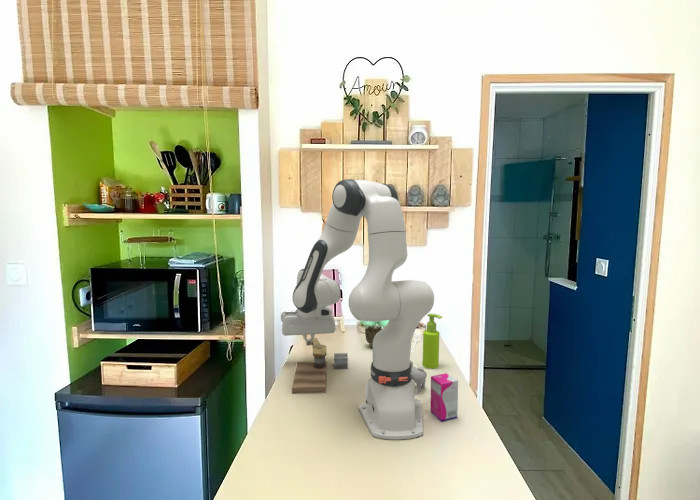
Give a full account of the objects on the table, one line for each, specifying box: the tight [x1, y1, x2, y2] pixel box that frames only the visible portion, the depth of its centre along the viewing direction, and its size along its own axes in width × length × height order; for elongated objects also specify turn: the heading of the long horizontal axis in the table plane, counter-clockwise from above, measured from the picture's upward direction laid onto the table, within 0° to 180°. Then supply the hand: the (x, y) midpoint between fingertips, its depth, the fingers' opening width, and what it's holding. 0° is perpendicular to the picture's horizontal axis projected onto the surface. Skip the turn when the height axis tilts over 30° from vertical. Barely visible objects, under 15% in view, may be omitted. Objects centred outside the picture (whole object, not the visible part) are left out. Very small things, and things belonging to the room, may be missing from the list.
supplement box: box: [430, 372, 459, 423], centre depth 116 cm, size 6×6×12 cm
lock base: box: [291, 352, 349, 394], centre depth 141 cm, size 23×19×6 cm
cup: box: [364, 325, 383, 349], centre depth 169 cm, size 8×7×8 cm
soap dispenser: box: [422, 313, 443, 370], centre depth 150 cm, size 6×7×20 cm
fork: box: [410, 333, 422, 354], centre depth 173 cm, size 3×20×2 cm, turn 162°
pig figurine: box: [410, 359, 428, 394], centre depth 134 cm, size 5×13×11 cm, turn 54°
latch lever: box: [311, 337, 328, 358], centre depth 149 cm, size 14×5×3 cm, turn 17°
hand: (308, 344), depth 153 cm, fingers closed
